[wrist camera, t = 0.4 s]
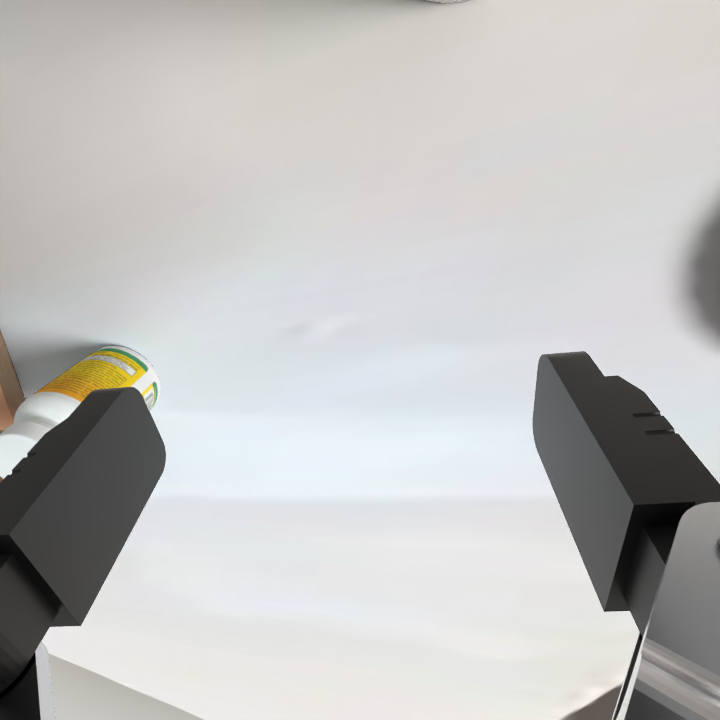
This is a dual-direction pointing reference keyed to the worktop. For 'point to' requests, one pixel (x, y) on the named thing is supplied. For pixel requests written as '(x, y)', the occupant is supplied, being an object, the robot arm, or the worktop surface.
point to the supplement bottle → (74, 398)
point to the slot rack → (8, 390)
